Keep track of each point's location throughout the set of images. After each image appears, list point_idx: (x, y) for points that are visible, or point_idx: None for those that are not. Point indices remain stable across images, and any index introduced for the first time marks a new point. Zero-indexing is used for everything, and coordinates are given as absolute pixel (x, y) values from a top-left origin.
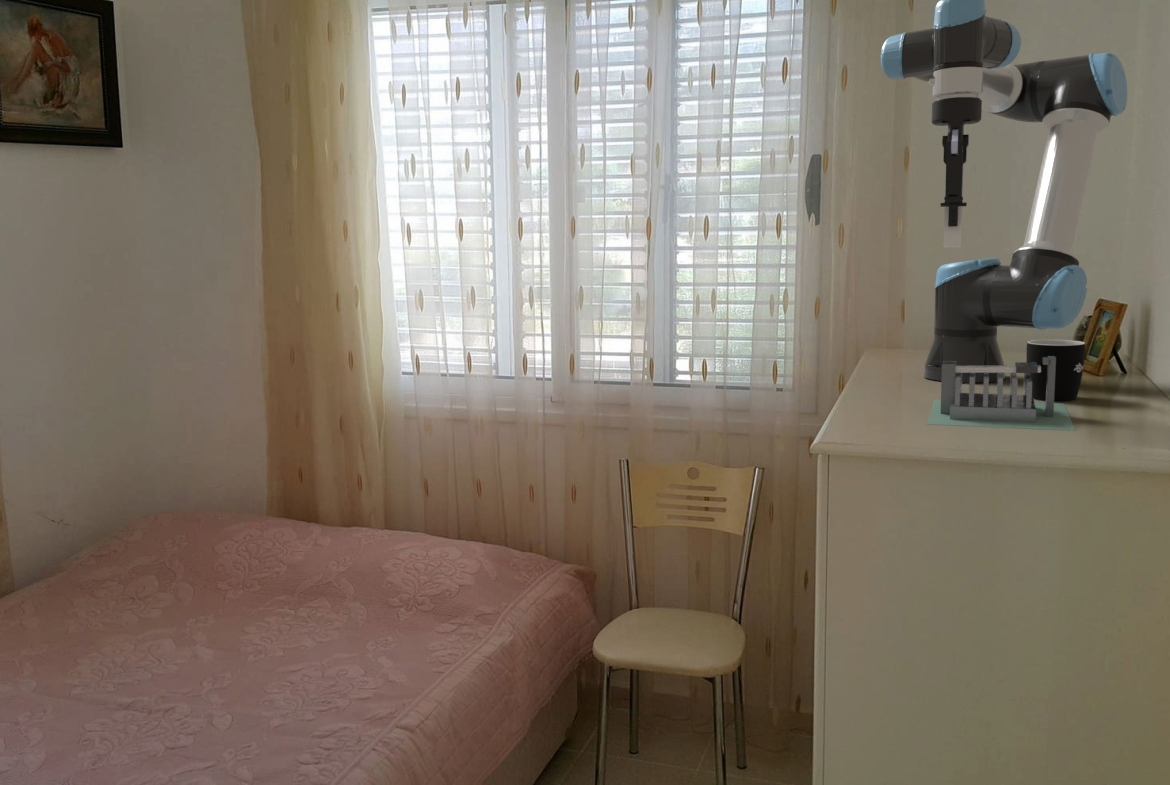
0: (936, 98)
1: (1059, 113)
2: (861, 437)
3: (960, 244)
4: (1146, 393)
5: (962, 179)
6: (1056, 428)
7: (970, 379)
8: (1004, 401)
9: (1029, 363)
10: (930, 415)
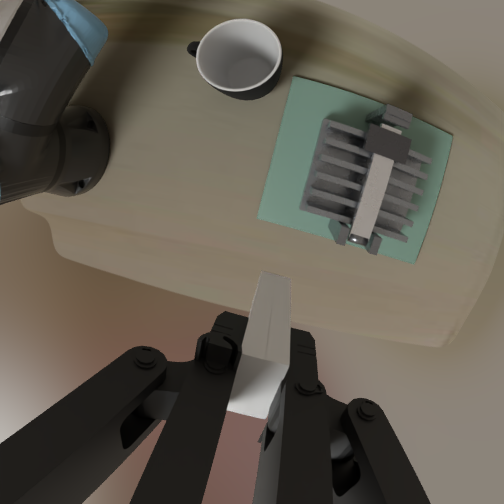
0: None
1: None
2: (435, 322)
3: (289, 283)
4: None
5: (85, 445)
6: (444, 148)
7: (405, 224)
8: None
9: (380, 136)
10: None
